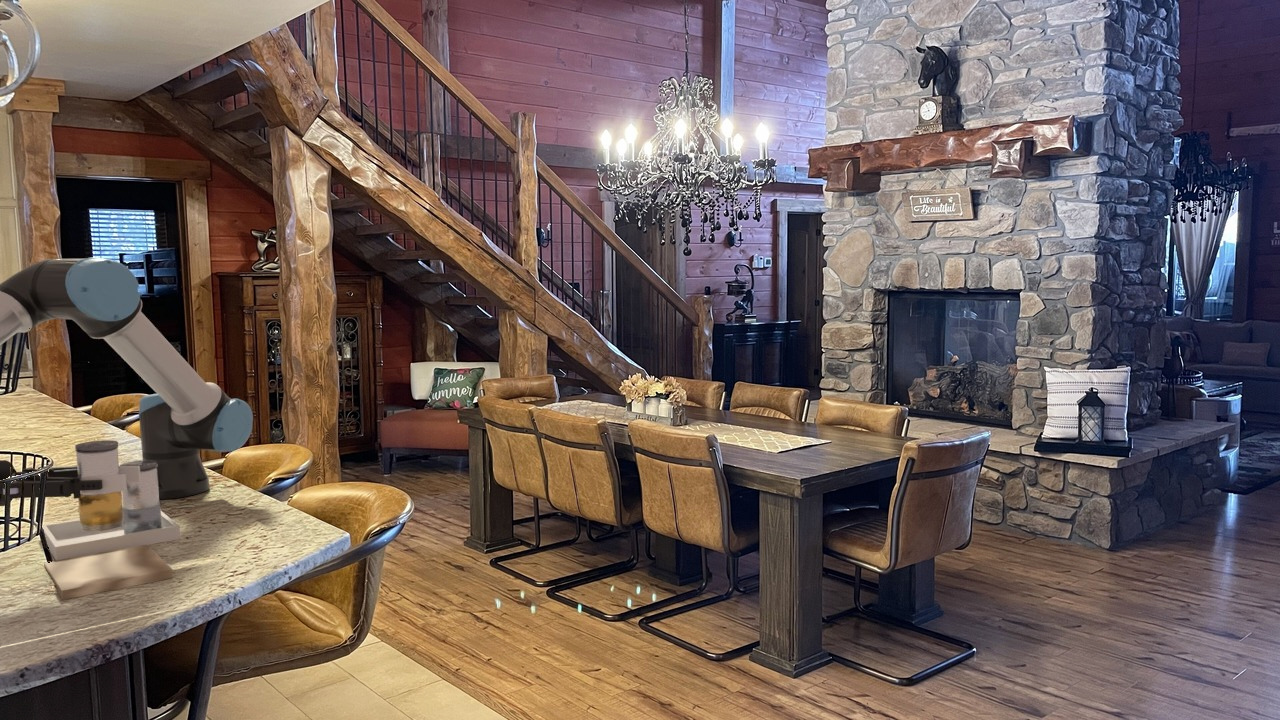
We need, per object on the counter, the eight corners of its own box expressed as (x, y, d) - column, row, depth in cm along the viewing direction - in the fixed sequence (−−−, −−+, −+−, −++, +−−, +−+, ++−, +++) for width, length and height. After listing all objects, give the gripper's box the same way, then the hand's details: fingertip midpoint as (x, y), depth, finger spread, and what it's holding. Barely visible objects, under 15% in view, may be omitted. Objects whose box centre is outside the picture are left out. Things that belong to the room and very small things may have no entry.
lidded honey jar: (119, 519, 166) (113, 438, 165) (127, 526, 161) (121, 444, 160) (77, 525, 162) (71, 443, 161) (84, 533, 157) (78, 449, 156)
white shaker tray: (157, 524, 193) (156, 507, 193) (180, 544, 180) (179, 525, 179) (41, 543, 181) (40, 525, 180) (56, 566, 167) (55, 547, 167)
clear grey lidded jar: (157, 530, 186) (153, 458, 184) (165, 537, 181) (161, 464, 179) (121, 536, 182) (116, 463, 180) (128, 544, 177) (123, 469, 175)
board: (147, 552, 175) (146, 544, 175) (172, 577, 161) (172, 569, 161) (44, 571, 165) (44, 562, 165) (62, 600, 151) (61, 590, 151)
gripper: (11, 492, 168) (153, 487, 171) (-49, 521, 149) (112, 514, 153) (7, 450, 167) (150, 445, 170) (-53, 474, 148) (109, 468, 152)
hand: (132, 478), depth 162 cm, fingers closed on lidded honey jar, 6 cm apart
